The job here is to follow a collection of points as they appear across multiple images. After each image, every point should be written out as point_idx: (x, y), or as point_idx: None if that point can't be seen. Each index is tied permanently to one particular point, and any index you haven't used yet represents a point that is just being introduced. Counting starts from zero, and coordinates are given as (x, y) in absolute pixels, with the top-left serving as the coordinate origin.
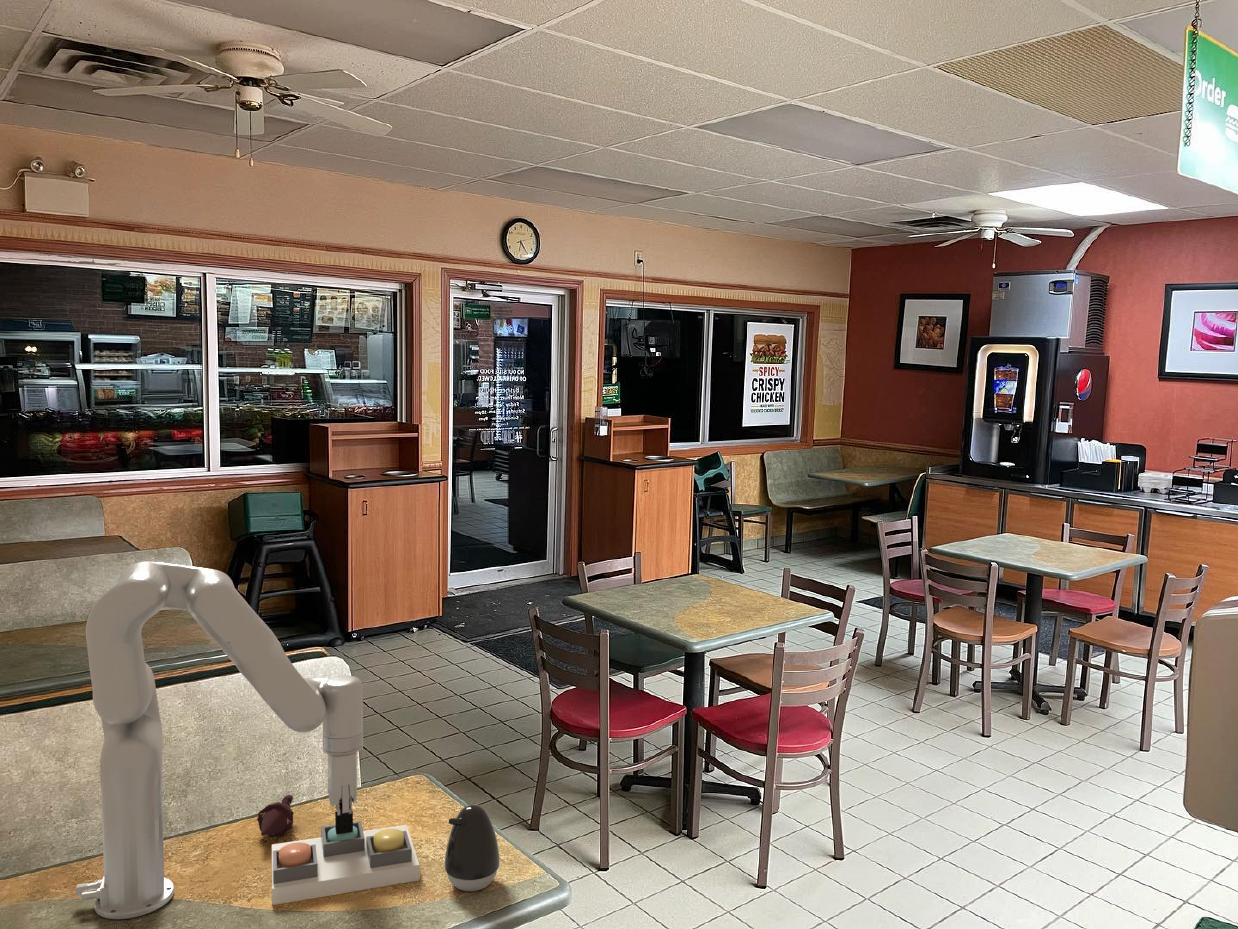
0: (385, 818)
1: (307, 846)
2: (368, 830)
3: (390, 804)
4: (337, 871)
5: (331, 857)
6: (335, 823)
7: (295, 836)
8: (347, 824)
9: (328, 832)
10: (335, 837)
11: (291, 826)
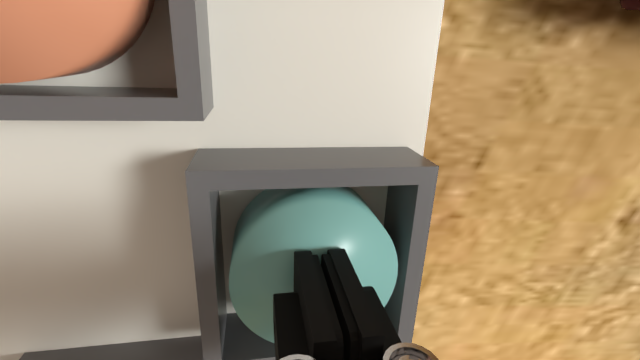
0: (528, 340)
1: (24, 55)
2: None
3: (604, 352)
4: (5, 213)
5: (183, 188)
6: (346, 276)
7: (577, 30)
8: (275, 354)
9: (337, 207)
10: (255, 245)
11: (632, 7)
